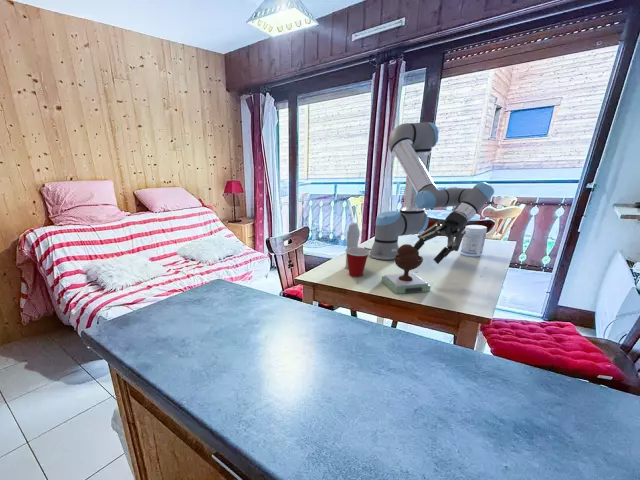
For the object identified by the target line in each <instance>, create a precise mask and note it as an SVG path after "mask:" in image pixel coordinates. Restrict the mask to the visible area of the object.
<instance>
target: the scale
mask: <svg viewBox="0 0 640 480" xmlns="http://www.w3.org/2000/svg"><path fill="white" fill-rule="evenodd" d="M402 275H404V273H394V274H393V273H392V274H384V275H383V276H381V282H382V283H383V284H384V285H385V286H386V287H388V289H389V290H391V291H392V292H393V293H394V294H396V295H398V294H410V293H411V294H412V293H422V292H423V293H424V292H431V285H430V284H429V283H428V282H427V281H426V280H424V279H423V278H421V277H419V276H418V275H416V274H415V273H413V272H409V274H408V275H409V276H411V277H412V279H413V280H412V281H401V280H399V277H400V276H402Z"/></svg>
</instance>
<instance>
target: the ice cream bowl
mask: <svg viewBox="0 0 640 480" xmlns="http://www.w3.org/2000/svg"><path fill="white" fill-rule="evenodd" d="M398 253H399V254H397V255H395V256H394V259H395V260H394V263H395V265H396V266H397V267H398V268H399V269H400V270H403V274H404V275H402V276H400V277H399V280H401V281H412V280H413V279H412V277H411V276H409V275H408V274H409V273H410V271H413V270H415V269H417V268H419V267H420V266H421V265H422V264H423V262H424V257H423V256H422V255H420V251H419V250H416V249H415V248H414V245H412V244H409V243H405V244H404V243H403V244H402V245H400V246H399V249H398Z"/></svg>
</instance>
